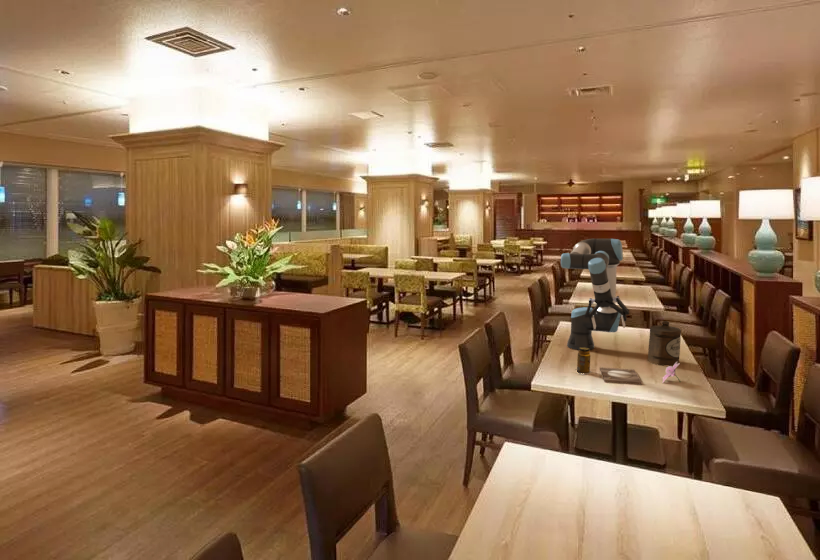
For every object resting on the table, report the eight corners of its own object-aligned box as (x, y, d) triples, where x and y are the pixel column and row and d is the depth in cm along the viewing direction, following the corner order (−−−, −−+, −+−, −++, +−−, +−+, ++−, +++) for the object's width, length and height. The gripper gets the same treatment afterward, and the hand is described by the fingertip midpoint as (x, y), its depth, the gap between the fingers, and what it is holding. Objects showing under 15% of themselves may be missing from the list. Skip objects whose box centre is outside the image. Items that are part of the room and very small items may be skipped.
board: (599, 369, 261) (599, 366, 261) (633, 371, 257) (634, 369, 257) (604, 382, 242) (604, 379, 241) (641, 384, 238) (641, 381, 238)
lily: (668, 378, 250) (659, 361, 249) (693, 374, 241) (683, 356, 241) (661, 392, 242) (651, 374, 241) (686, 388, 233) (676, 370, 233)
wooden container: (674, 367, 264) (677, 325, 261) (644, 362, 273) (646, 321, 270) (682, 361, 275) (684, 320, 272) (652, 356, 284) (654, 317, 282)
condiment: (593, 372, 257) (594, 348, 255) (582, 375, 252) (583, 351, 250) (581, 368, 263) (582, 345, 261) (570, 371, 258) (571, 348, 256)
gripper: (573, 295, 250) (582, 332, 257) (629, 291, 237) (636, 330, 245) (576, 288, 255) (584, 324, 263) (630, 283, 243) (637, 321, 251)
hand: (609, 327), depth 254 cm, fingers open, 13 cm apart
